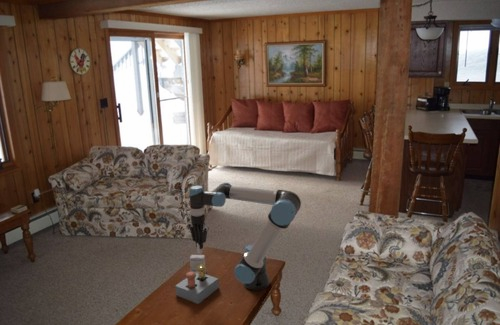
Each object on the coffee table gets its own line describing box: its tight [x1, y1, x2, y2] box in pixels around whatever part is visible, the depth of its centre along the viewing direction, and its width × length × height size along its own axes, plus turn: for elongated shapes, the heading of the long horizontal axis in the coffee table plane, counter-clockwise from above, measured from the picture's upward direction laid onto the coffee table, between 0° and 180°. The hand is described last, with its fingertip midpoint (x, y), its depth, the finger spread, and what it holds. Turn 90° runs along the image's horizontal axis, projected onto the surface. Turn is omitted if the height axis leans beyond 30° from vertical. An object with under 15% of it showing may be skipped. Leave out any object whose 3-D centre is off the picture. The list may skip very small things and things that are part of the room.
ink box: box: [189, 254, 207, 274], centre depth 248 cm, size 9×5×12 cm, turn 84°
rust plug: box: [185, 271, 196, 289], centre depth 225 cm, size 5×5×9 cm
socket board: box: [174, 271, 220, 305], centre depth 230 cm, size 16×18×6 cm
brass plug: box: [197, 264, 207, 282], centre depth 232 cm, size 5×5×9 cm
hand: (200, 253), depth 229 cm, fingers closed
